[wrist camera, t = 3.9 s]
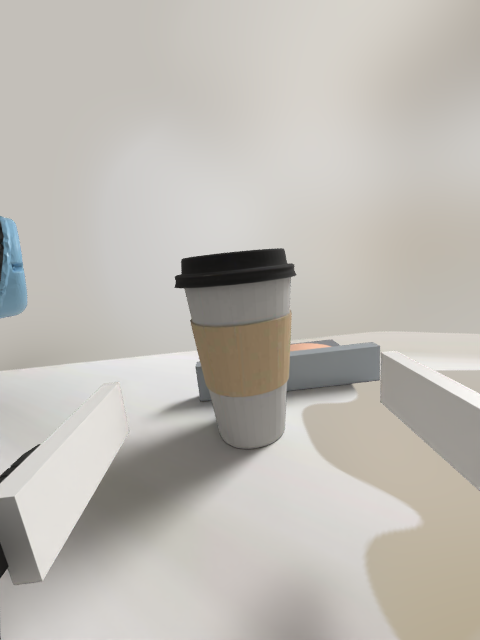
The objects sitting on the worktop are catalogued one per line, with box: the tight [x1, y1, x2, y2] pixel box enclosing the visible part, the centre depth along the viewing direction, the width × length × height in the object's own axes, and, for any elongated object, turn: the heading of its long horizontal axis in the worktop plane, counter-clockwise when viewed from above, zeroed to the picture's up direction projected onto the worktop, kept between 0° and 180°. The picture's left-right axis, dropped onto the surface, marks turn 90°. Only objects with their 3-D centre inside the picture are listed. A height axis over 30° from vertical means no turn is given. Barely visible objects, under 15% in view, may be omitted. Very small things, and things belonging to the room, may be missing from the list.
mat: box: [290, 340, 340, 351], centre depth 38 cm, size 12×11×1 cm
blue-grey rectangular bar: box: [196, 342, 380, 401], centre depth 30 cm, size 20×2×4 cm, turn 93°
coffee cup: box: [175, 249, 296, 449], centre depth 22 cm, size 9×9×15 cm
